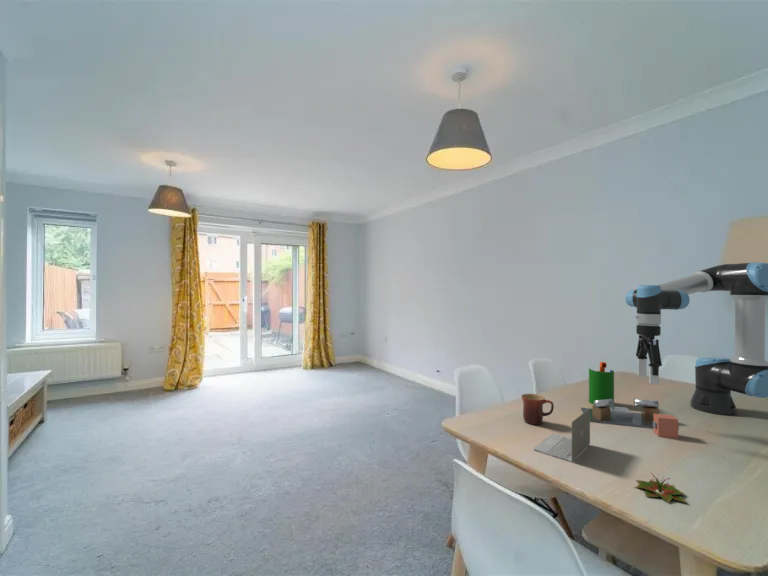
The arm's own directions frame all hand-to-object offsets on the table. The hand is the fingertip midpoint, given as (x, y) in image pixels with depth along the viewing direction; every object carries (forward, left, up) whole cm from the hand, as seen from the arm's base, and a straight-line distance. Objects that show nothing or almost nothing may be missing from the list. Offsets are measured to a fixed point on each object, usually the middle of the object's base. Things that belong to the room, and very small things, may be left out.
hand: (647, 379), depth 138 cm
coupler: (-4, +5, -19) cm, 20 cm away
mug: (+40, +7, -19) cm, 45 cm away
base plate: (+7, -8, -19) cm, 22 cm away
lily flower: (+13, +49, -20) cm, 55 cm away
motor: (+9, -28, -19) cm, 35 cm away
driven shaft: (+14, -6, -18) cm, 23 cm away
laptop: (+34, +28, -20) cm, 49 cm away
